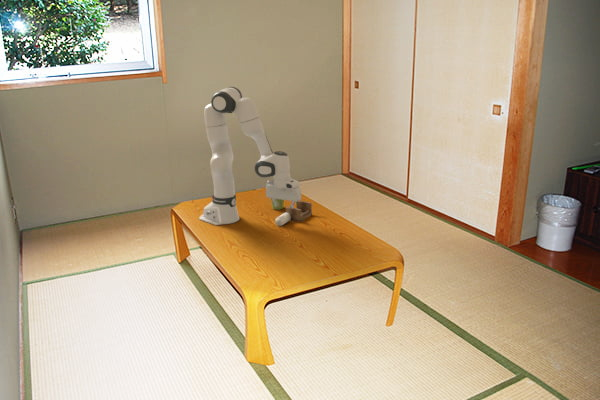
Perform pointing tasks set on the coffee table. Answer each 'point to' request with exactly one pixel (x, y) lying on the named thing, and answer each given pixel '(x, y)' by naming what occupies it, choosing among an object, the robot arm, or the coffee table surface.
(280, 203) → the plant pot
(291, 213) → the walnut cradle
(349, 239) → the coffee table surface
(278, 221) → the paper roll
